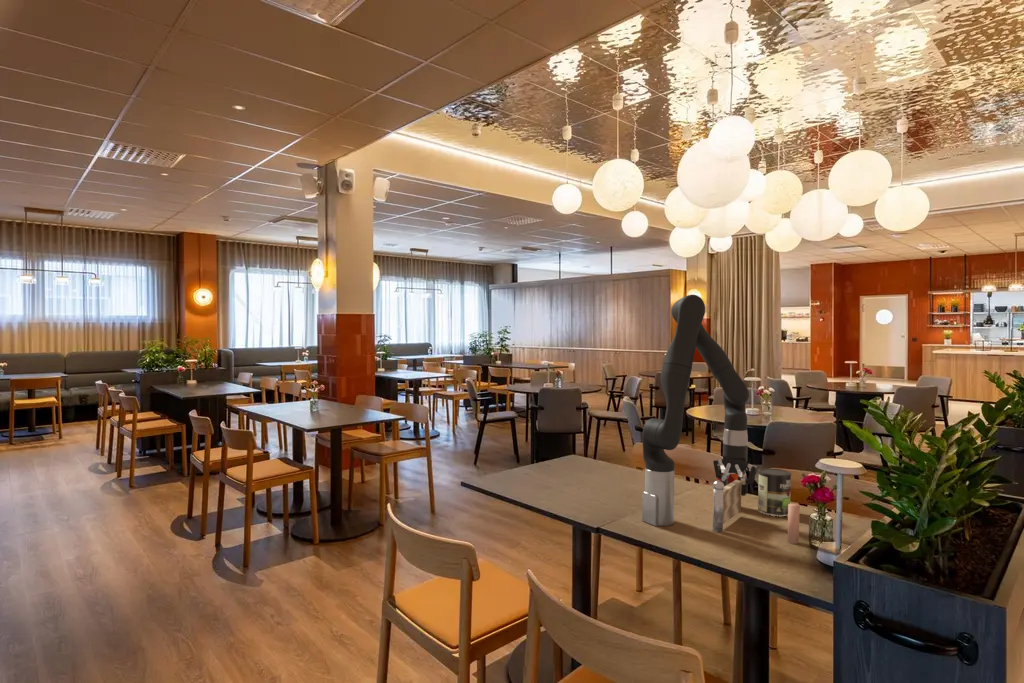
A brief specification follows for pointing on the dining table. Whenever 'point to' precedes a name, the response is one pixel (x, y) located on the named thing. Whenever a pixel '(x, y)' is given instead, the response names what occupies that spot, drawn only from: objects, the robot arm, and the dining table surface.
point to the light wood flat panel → (731, 500)
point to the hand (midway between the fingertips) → (734, 493)
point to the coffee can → (774, 491)
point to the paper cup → (731, 476)
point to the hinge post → (718, 506)
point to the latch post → (793, 523)
